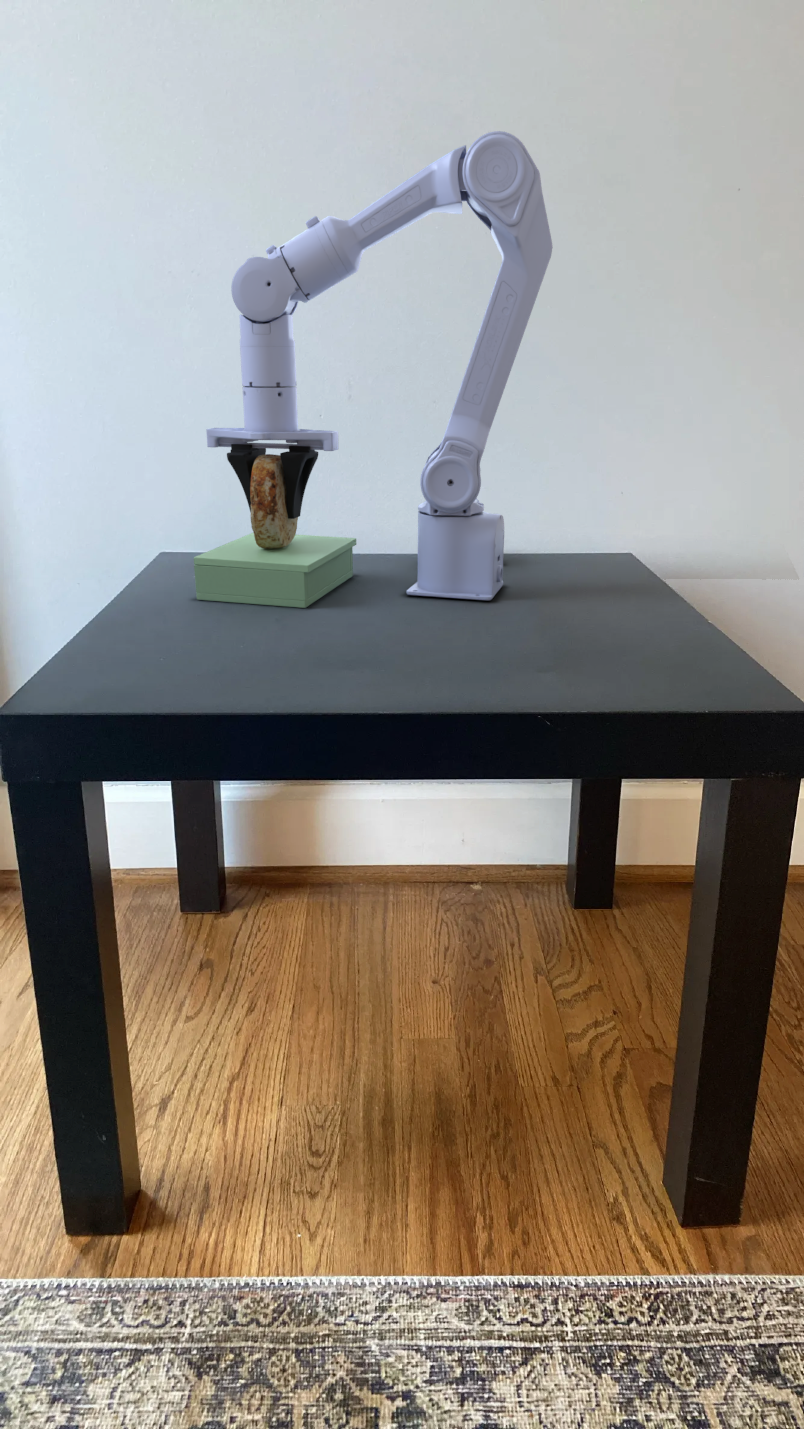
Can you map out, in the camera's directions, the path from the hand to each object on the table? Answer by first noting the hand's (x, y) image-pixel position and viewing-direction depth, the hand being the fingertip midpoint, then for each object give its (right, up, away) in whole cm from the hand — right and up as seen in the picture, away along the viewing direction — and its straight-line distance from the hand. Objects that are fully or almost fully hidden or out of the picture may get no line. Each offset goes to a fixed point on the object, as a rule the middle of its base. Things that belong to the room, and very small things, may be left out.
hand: (275, 516), depth 104 cm
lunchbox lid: (0, -4, +1) cm, 4 cm away
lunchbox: (0, -8, +3) cm, 8 cm away
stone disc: (0, -3, +1) cm, 4 cm away
